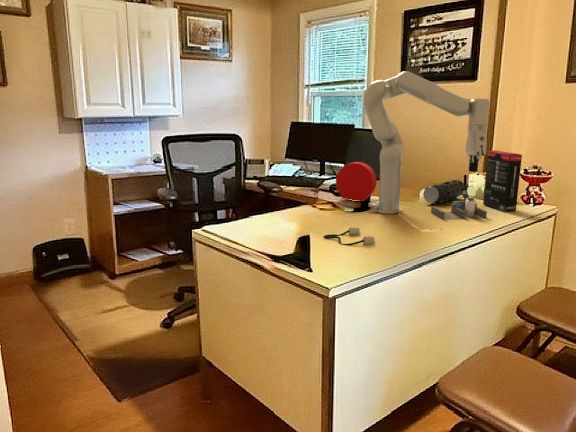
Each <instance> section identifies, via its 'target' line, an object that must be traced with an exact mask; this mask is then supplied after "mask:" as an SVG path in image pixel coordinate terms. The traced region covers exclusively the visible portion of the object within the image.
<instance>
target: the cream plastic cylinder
mask: <svg viewBox="0 0 576 432" xmlns="http://www.w3.org/2000/svg"><path fill="white" fill-rule="evenodd" d="M465 201H466V203H465V212H466V216H467V217H474V211H475V203H476V200H475V198H474V197H469V198H466V200H465Z"/></svg>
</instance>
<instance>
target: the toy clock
mask: <svg viewBox="0 0 576 432" xmlns="http://www.w3.org/2000/svg"><path fill="white" fill-rule="evenodd" d="M335 186H336V189H337V191H338V193H339V195H340V196H341V197H342V198H343V199H345V198H347V199H352V200H360V201H359V202H362V201H365V200H366V199H368V198H369V197H370V196H371V195H372V194H374V192H375V190H376V187H377V175H376V173H375V171H374V170H373V168H372V167H371V166H369V165H368V164H367V163H365V162H361V161H353V162H349V163H347V164H345V165H344V166H342V167H341V168H340V169H339V171H338V172H337V174H336V177H335Z"/></svg>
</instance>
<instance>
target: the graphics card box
mask: <svg viewBox="0 0 576 432" xmlns="http://www.w3.org/2000/svg"><path fill="white" fill-rule="evenodd" d="M522 158H523V154H521V153H520V154H519V153H515V152H508V151H503V150H502V151H501V150H488V151H487V159H486V168H485V169H486V170H485V179H484V189H483V191H484V193H483V202H482V205H484V206H487V207H490V208H493V209H494V210H495V209H496V210H498V211H500V212H504V213H507V212H508V213H509V212H516V211H517V204H518V195H519V185H520V184H519V183H520V178H521V177H520V176H521V169H522Z"/></svg>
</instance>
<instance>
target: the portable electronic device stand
mask: <svg viewBox="0 0 576 432" xmlns="http://www.w3.org/2000/svg"><path fill="white" fill-rule="evenodd" d="M462 198H463V200H462V201H466V200H467V199H468V198H470V196H469V193H468V191H467V190H465V191H463V194H462Z"/></svg>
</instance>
